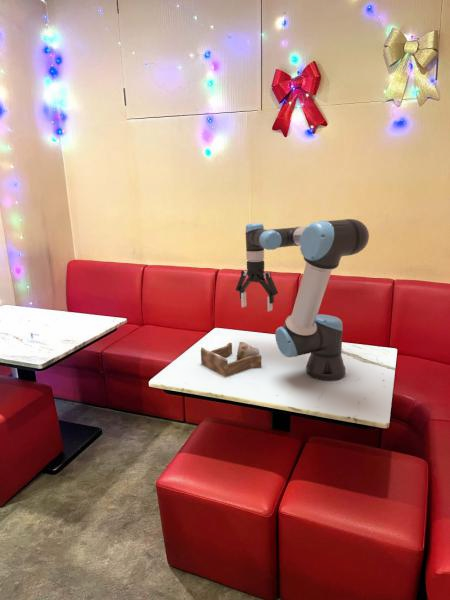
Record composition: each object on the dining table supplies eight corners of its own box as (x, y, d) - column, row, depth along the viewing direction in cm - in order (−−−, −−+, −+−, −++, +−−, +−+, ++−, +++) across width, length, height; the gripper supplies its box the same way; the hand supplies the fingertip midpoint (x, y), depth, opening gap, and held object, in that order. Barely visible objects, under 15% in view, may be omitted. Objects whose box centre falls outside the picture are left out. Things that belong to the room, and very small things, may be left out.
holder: (262, 367, 175) (262, 349, 173) (229, 379, 165) (228, 361, 163) (230, 352, 191) (230, 336, 189) (198, 363, 180) (197, 346, 178)
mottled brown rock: (261, 361, 180) (248, 345, 176) (242, 368, 185) (229, 353, 180) (263, 348, 186) (250, 333, 182) (244, 355, 190) (231, 341, 186)
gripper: (285, 260, 177) (286, 310, 182) (236, 257, 192) (238, 303, 197) (276, 263, 171) (277, 314, 176) (226, 260, 186) (228, 306, 191)
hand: (256, 308), depth 187 cm, fingers open, 13 cm apart
